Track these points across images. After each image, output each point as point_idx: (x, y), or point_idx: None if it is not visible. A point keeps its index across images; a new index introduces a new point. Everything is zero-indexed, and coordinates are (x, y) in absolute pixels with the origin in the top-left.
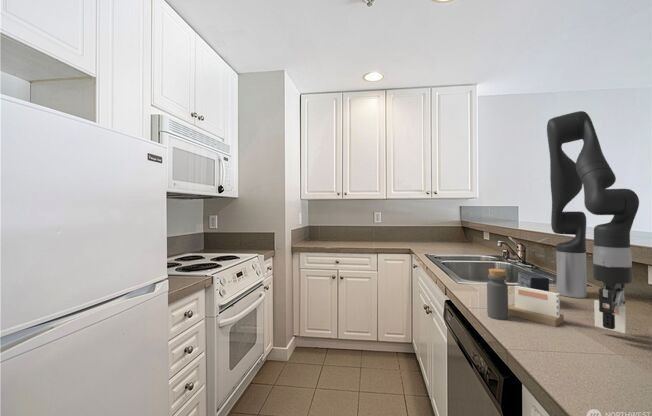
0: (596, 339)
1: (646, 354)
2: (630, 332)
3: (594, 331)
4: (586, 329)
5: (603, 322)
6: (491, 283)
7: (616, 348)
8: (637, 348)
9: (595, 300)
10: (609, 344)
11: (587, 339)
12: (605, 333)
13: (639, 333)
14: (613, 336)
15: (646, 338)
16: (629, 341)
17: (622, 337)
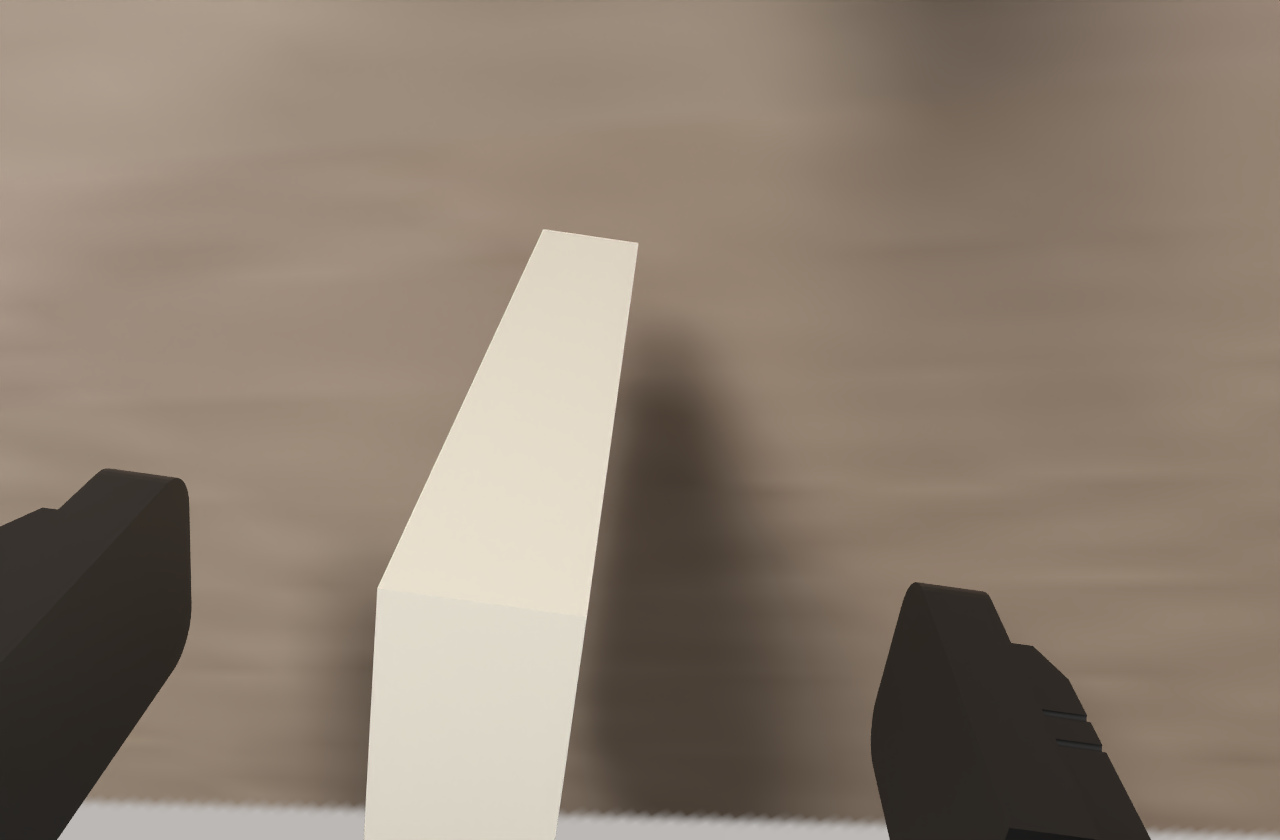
0: (195, 240)
1: (124, 802)
2: (1129, 665)
3: (715, 169)
4: (742, 15)
5: (50, 525)
6: None
7: (4, 516)
8: (292, 729)
9: (527, 622)
10: (110, 429)
11: (36, 104)
12: (737, 347)
13: (1162, 763)
14: (648, 462)
15: None
16: None
17: (707, 574)
